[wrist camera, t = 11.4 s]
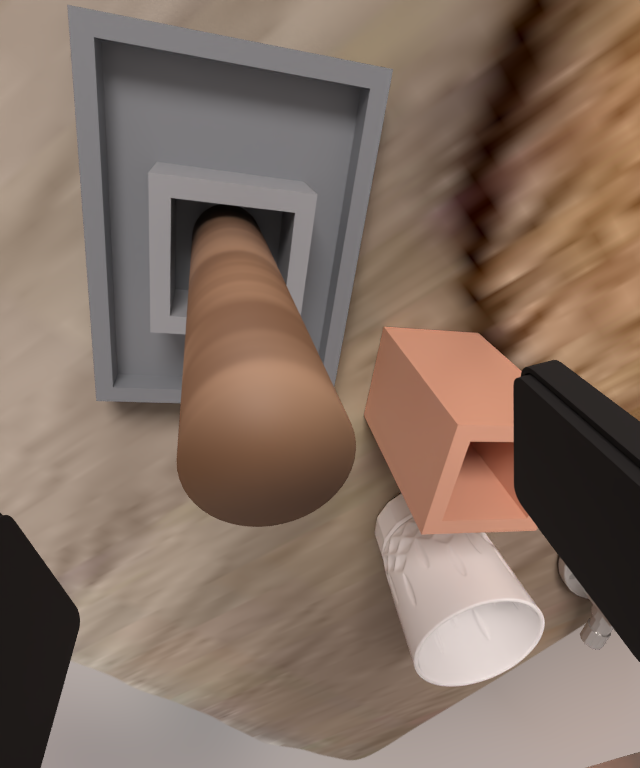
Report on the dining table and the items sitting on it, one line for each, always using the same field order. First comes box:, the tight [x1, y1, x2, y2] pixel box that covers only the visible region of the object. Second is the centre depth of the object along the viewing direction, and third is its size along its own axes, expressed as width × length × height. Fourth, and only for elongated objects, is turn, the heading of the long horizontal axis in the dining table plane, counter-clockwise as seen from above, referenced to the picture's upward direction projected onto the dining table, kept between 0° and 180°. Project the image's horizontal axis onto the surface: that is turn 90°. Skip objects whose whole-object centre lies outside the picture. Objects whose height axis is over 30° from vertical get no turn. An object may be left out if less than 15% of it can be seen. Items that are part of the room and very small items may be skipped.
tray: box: [67, 5, 393, 403], centre depth 23 cm, size 16×12×4 cm
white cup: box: [375, 493, 545, 686], centre depth 33 cm, size 8×8×10 cm
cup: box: [364, 327, 537, 535], centre depth 26 cm, size 6×6×10 cm
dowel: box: [177, 204, 356, 527], centre depth 16 cm, size 3×3×17 cm
